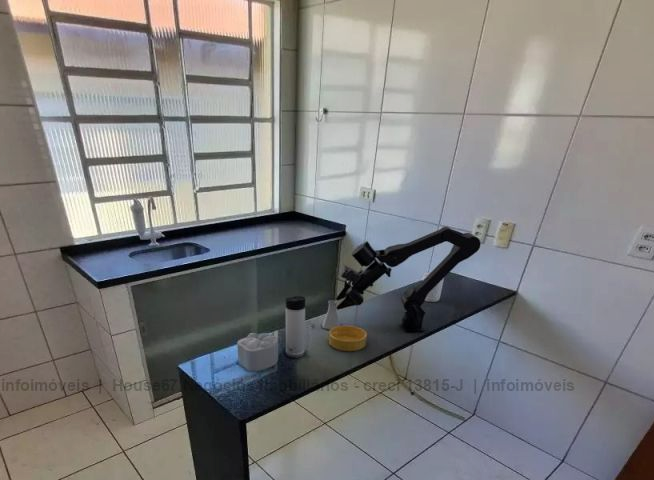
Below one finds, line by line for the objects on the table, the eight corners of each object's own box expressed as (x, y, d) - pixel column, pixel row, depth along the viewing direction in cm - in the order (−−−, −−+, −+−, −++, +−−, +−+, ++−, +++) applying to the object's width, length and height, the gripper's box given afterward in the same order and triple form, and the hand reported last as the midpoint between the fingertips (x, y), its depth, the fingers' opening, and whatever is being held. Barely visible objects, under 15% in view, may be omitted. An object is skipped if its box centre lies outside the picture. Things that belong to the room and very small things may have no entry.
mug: (447, 297, 182) (452, 273, 176) (432, 304, 175) (437, 279, 170) (430, 292, 188) (434, 269, 182) (415, 298, 181) (419, 275, 175)
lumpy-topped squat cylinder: (234, 360, 133) (232, 336, 128) (267, 349, 140) (266, 326, 135) (252, 373, 126) (250, 348, 121) (285, 361, 133) (285, 337, 128)
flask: (339, 331, 152) (341, 305, 147) (320, 329, 154) (321, 304, 148) (341, 323, 158) (343, 298, 153) (323, 322, 160) (324, 297, 154)
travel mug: (291, 359, 133) (291, 302, 123) (282, 351, 138) (282, 295, 128) (308, 355, 136) (309, 298, 125) (298, 347, 141) (299, 292, 130)
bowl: (360, 334, 150) (361, 324, 147) (369, 351, 139) (371, 340, 136) (325, 336, 149) (326, 326, 146) (332, 352, 138) (332, 342, 135)
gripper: (353, 252, 150) (322, 280, 156) (356, 266, 134) (321, 297, 141) (372, 273, 153) (341, 300, 160) (378, 290, 138) (343, 319, 144)
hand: (336, 304), depth 151 cm, fingers open, 9 cm apart
